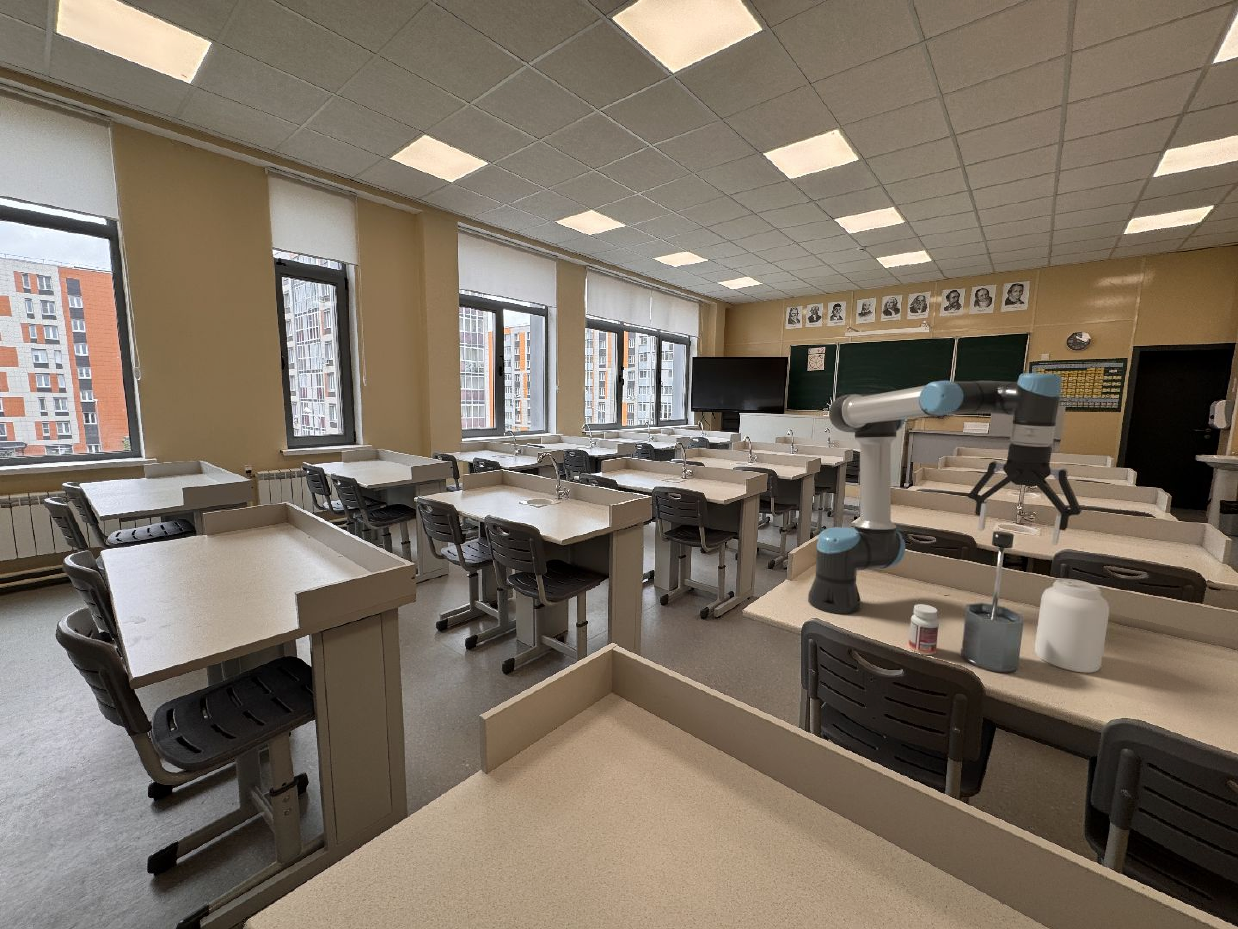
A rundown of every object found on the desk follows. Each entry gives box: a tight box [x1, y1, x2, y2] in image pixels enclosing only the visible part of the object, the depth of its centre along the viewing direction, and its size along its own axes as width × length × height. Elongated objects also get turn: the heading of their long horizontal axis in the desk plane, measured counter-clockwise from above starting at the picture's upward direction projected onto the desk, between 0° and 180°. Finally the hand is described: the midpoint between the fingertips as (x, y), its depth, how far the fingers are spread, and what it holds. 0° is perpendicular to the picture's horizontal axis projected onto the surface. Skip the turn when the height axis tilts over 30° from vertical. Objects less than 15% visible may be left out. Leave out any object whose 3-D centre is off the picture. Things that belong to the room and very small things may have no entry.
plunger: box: [977, 530, 1015, 623], centre depth 126 cm, size 8×8×23 cm
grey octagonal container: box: [960, 602, 1025, 674], centre depth 129 cm, size 12×14×12 cm
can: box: [1034, 578, 1110, 673], centre depth 128 cm, size 12×12×20 cm
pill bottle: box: [908, 603, 939, 656], centre depth 134 cm, size 6×6×11 cm
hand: (1016, 536), depth 119 cm, fingers open, 13 cm apart
